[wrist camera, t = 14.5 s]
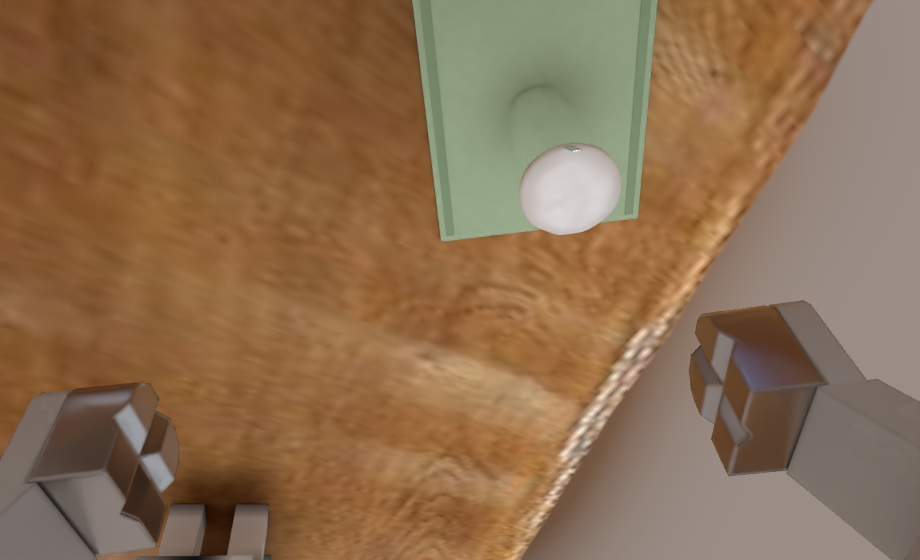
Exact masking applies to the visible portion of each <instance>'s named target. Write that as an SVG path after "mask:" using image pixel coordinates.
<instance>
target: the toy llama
mask: <svg viewBox="0 0 920 560" xmlns="http://www.w3.org/2000/svg"><path fill="white" fill-rule="evenodd" d="M206 524H207V521H206V514H205V506H204V504H171V508H170V512H169V516H168V519H167V523H166V527H165V530H164V534H163V538H162V541H161V545H160V549H159V553H158V556H137V559H136V560H271V555H265V548H266V541H267V534H268V526H269V510H268V504H236V509H235V515H234V520H233V526H232V531H231V536H230V542H229V547H228V553H227V556H199V555H200V551H201V546H202V542H203V537H204V533H205V528H206Z"/></svg>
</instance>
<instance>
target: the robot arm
mask: <svg viewBox="0 0 920 560" xmlns="http://www.w3.org/2000/svg"><path fill="white" fill-rule="evenodd" d="M695 334H696V336H697V338H698V340H699V342H700V344H701V345H700V346H699V347H698V348H697V349H696V350H695V351H694V352H693V353H692V354H691V359H690V367H689V375H690V385H691V391H692V394H693V398H694V401H695V403H696V406H697V408H698V410H699V413H700V415H701V416H703V417H704V418H706V419H707V420H709V421H710V422H712V423H713V424H714V429H713V434H712V438H711V440H712V442H713V443H714V446H715V448H716V450H717V453H718V455H719V457H720V459H721V461H722V463H723V465H724V468H725V470H726V472H727V474H728V476H736V475H746V474H756V473H767V472H776V471H787V474H788V475H789V476H790V477H792V478H793V479H794V480H795V481H797V482H798V483H799V484H800V485H801V486H802V487H804V488H805V489H806V490H807V491H809V492H810V493H811V494H812V495H813V496H815V497H816V498H817V499H818V500H819V501H821V502H822V503H823V504H824V505H826V506H827V507H828V508H829V509H830V510H832V511H833V512H834V513H835V514H836V515H838V516H839V517H840V518H841V519H843V520H844V521H845V522H846V523H847V524H849V525H850V526H851V527H852V528H854V529H855V530H856V531H857V532H858V533H860V534H861V535H862V536H863V537H864V538H866V539H867V540H868V541H869V542H871V543H872V544H873V545H874V546H875V547H877V548H878V549H879V550H880V551H881V552H883V553H884V554H885V555H886V556H888V557H889V558H890V559H891V560H920V402H919V401H917V400H916V399H913V398H912V397H910V396H908V395H906V394H904V393H902V392H901V391H899V390H897V389H895V388H893V387H891V386H889V385H887V384H885V383H884V382H882V381H880V380H878V379H874V380H866V378H865V377H864V376H863V375H862V373H861V372H860V371H859V369H858V368H857V366H856V365H855V364H854V362H853V361H852V359H851V358H850V357H849V355H848V354H847V353H846V351H845V350H844V349H843V347H842V346H841V345H840V343H839V342H838V340H837V339H836V338H835V336H834V335H833V334H832V332H831V331H830V330H829V328H828V327H827V326H826V324H825V323H824V322H823V320H822V319H821V317H820V316H819V315H818V313H817V312H816V311H815V309H814V308H813V307H812V305H811V304H809V303H808V302H805V301H804V300H803V301H795V302H787V303H781V304H772V305H769V306H758V307H750V308H742V309H735V310H727V311H719V312H712V313H704V314H701V316H700V317H699V319H698V321H697V326H696V331H695ZM158 400H159V397H158V396H157V394H156V392H155V391H154V389H153V387H152V386H151V384H150V383H144V382H139V383H128V384H118V385H108V386H97V387H87V388H77V389H74V390H63V391H53V392H42V393H40V394H39V395H37V396H36V397H35V398H33V399H32V400H31V402H30V403H29V405H28V407H27V409H26V411H25V413H24V415H23V417H22V419H21V421H20V423H19V425H18V427H17V428H16V430H15V432H14V434H13V436H12V438H11V440H10V442H9V444H8V446H7V448H6V450H5V452H4V454H3V456H2V457H1V459H0V560H97V558H96V556H103V555H109V554H116V553H123V552H129V551H136V550H142V549H149V548H155V547H156V546H157V542H158V539H159V535H160V531H161V528H162V524H163V520H164V517H165V513H166V510H167V505H166V503H165V501H164V499H163V498H162V496H161V493H162V492H163V491H164V490H165V489H166V488H167V487H168V486H169V485H170V484H171V483H172V482H173V481H174V480H175V476H176V472H177V468H178V464H179V441H178V437H177V433H176V429H175V427H174V425H173V423H172V421H171V420H170V418H169V417H167V416H165V415H163V414H161V413H159V412H158V411H156V407H157V404H158Z"/></svg>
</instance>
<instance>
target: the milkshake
mask: <svg viewBox="0 0 920 560" xmlns="http://www.w3.org/2000/svg"><path fill="white" fill-rule="evenodd" d="M508 112H509V121H510V131H511V137H512V142H513V148H514V154H515V160H516V170H517V180H518V189H519V197H520V204H521V208H522V210H523V213H524V215H525V216H526V218H527V219H528V221H529V222H530V223H531V224H532V225H534V226H535V227H537V228H540V229H542V230H545V231H547V232H550V233H553V234H557V235H565V234H572V233H578V232H583V231H586V230H588V229H590V228H591V227H593V226H595V225H596V224H597V223H599V222H600V221H602V220H603V219H604V218H606V217H607V216H608V215H609V214H610V213H611V212H612V211H613V209H614V208H615V206H616V204H617V202H618V199H619V196H620V190H621V175H620V171H619V169H618V166H617V165H616V163H615V162H614V160H613V159H612V158H611V157H610V156H609V154H608V153H607V152H606V151H605V150H604V148H603V147H602V146H601V145H600V144H599V142H598V141H597V140H596V139H595V138H594V137H593V136H592V134H590V132H589V131H588V130H587V128H586V127H585V125H584V124H583V123H582V121H581V120H580V119H579V117H578V116H577V115H576V113H575V112H574V110H573V109H572V108H571V106H570V105H569V104H568V102H567V101H566V100H565V99H564V98H563V97H562V96H561V95H560V94H559V93H558V92H557V91H556V89H554V88H547V87H540V86H535V87H533V88H531V89H529V90H527V91H525V92H523V93H521V94H519V95H518V96H517V98H516V99H515V101H514V103H513V104H512V106H511V108H510V109H509V111H508Z"/></svg>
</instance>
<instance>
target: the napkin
mask: <svg viewBox="0 0 920 560" xmlns="http://www.w3.org/2000/svg"><path fill="white" fill-rule="evenodd" d="M657 2H658V0H412V4H413V12H414V20H415V29H416V37H417V45H418V54H419V62H420V70H421V79H422V87H423V95H424V104H425V112H426V120H427V129H428V137H429V145H430V154H431V162H432V171H433V179H434V187H435V196H436V204H437V212H438V221H439V229H440V237H441V241H450V240H459V239H467V238H476V237H484V236H492V235H501V234H509V233H517V232H526V231H534V230H542V229H540V228H537V227H535V226H534V225H532V224H531V223H530V222H529V221H528V219H527V218H526V216H525V215H524V213H523V210H522V208H521V204H520V197H519V189H518V180H517V170H516V160H515V154H514V148H513V142H512V137H511V131H510V121H509V112H508V111H509V109H510V108H511V106H512V104H513V103H514V101H515V99H516V98H517V96H518V95H519V94H521V93H523V92H525V91H527V90H529V89H531V88H533V87H535V86H540V87H547V88H554V89H556V91H557V92H558V93H559V94H560V95H561V96H562V97H563V98H564V99H565V100H566V101H567V102H568V104H569V105H570V106H571V108H572V109H573V110H574V112H575V113H576V115H577V116H578V117H579V119H580V120H581V121H582V123H583V124H584V125H585V127H586V128H587V130H588V131H589V132H590V134H592V136H593V137H594V138H595V139H596V140H597V141H598V142H599V144H600V145H601V146H602V147H603V148H604V150H605V151H606V152H607V153H608V154H609V156H610V157H611V158H612V159H613V160H614V162H615V163H616V165H617V166H618V169H619V171H620V175H621V190H620V196H619V199H618V202H617V204H616V206H615V208H614V209H613V211H612V212H611V213H610V214H609V215H608V216H607V217H606V218H604V219H603V220H602V221H600V222H599V223H601V222H610V221H618V220H626V219H635V218H638V209H639V198H640V187H641V176H642V165H643V155H644V144H645V133H646V122H647V111H648V100H649V89H650V78H651V67H652V56H653V45H654V35H655V24H656V13H657Z"/></svg>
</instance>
